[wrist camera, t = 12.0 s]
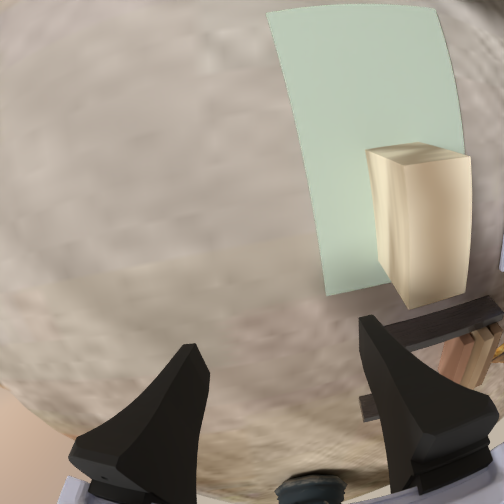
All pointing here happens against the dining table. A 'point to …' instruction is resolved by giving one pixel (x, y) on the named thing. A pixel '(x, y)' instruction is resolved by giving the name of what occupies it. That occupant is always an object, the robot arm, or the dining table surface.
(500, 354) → the shard
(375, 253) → the rubber mat
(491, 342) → the offcut stack
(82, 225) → the dining table surface
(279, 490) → the lantern
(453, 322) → the rack
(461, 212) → the birch block
